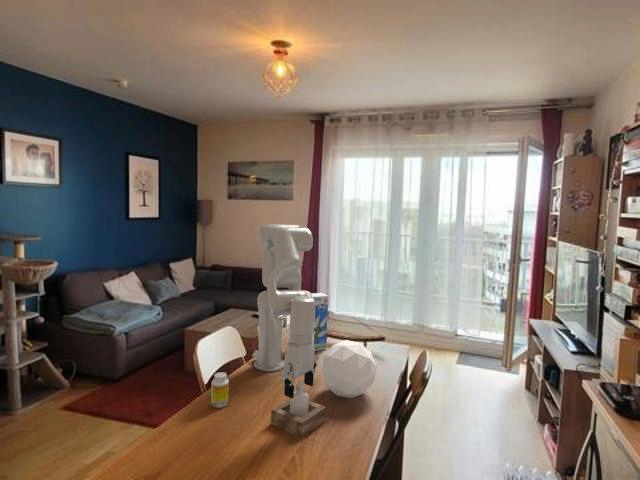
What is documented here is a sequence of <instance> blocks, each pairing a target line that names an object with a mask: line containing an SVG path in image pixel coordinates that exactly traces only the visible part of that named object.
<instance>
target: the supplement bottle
mask: <svg viewBox="0 0 640 480" xmlns="http://www.w3.org/2000/svg"><path fill="white" fill-rule="evenodd" d="M213 376H214V377H213V380H212V381H211V386H210V387H211V389H210V390H211V391H210V392H211V393H210V394H211V397H210V402H211V403H210V404H211V406H212V407H214V408H217V409H220V408H225V407H226V406H228V404H229V399H230V398H229V397H230V395H229V392H230V390H229V387H230V386H229V385H230V384H229V383H230V381H229V379H228V375H227V373H226V372H224V371H222V372H220V371H219V372H216V373H214V375H213Z"/></svg>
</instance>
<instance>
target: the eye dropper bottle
mask: <svg viewBox="0 0 640 480" xmlns="http://www.w3.org/2000/svg"><path fill="white" fill-rule="evenodd" d="M309 397H310V396H309V393H308V392H306V391H305V384H304V383H303V382H302V380H301V379H300V380H298V383H296V385H295V390H294V397H293V398H291V399H290V398H289V399H290V413H291V414H293V415H295V416H298V417H300V418H302V417H304V416H305V415H307V414H308V402H309V401H310V400H309Z"/></svg>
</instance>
